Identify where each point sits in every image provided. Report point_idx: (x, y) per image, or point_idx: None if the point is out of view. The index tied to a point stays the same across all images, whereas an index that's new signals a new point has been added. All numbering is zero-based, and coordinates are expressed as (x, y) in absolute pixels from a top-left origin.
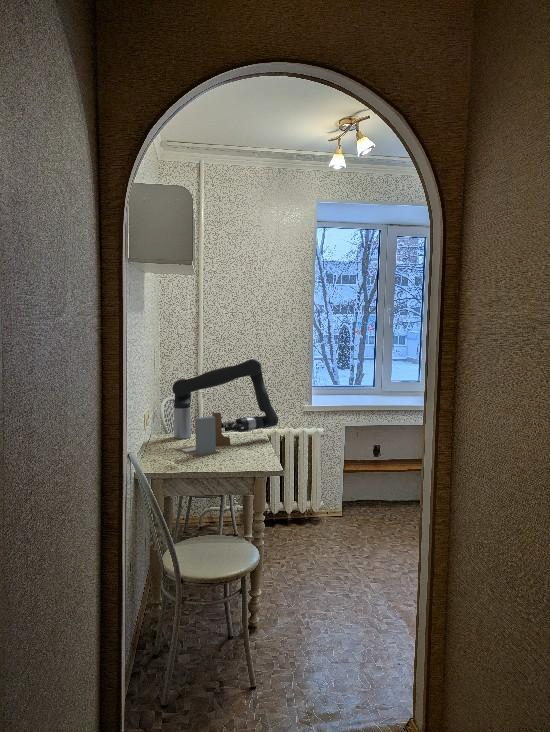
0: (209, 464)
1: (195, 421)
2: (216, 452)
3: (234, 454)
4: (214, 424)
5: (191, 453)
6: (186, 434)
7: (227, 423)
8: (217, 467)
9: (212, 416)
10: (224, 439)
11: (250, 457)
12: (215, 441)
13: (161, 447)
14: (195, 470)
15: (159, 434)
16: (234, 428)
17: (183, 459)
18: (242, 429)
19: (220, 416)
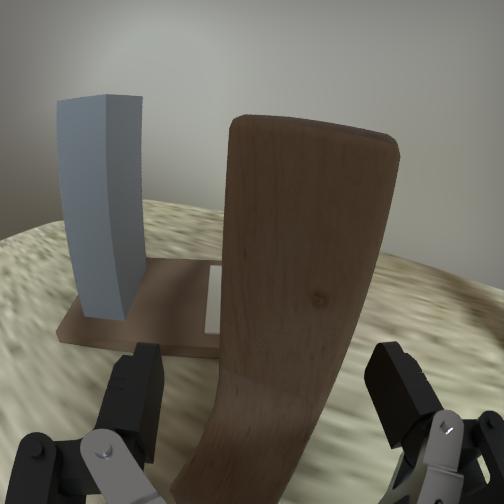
0: (38, 259)
1: (140, 113)
2: (87, 322)
3: (14, 383)
4: (61, 150)
5: (173, 266)
6: None
7: (415, 490)
8: (4, 256)
9: (84, 97)
10: (200, 444)
11: None
12: (71, 258)
13: (379, 270)
14: (46, 228)
15: None
16: (59, 448)
17: (154, 248)
18: None
19: (229, 163)
